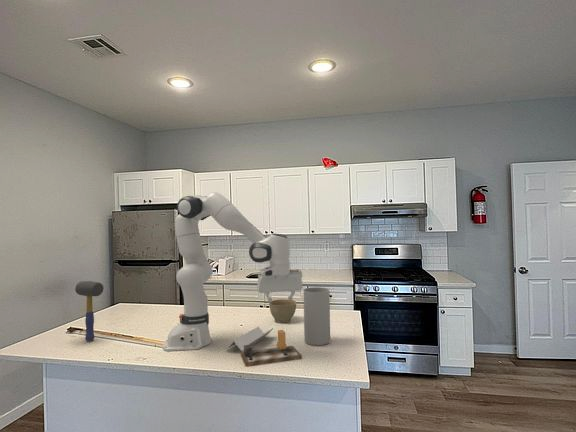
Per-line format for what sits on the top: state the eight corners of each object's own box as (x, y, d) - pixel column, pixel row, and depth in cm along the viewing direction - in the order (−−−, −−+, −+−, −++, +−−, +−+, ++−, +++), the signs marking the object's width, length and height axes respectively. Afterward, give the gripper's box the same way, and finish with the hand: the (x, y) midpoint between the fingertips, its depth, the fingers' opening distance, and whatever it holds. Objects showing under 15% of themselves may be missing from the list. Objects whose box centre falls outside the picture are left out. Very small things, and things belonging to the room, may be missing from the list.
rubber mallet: (74, 342, 171) (73, 281, 172) (87, 337, 178) (87, 279, 179) (92, 345, 167) (91, 283, 167) (105, 340, 174) (104, 280, 174)
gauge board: (245, 366, 139) (245, 354, 139) (240, 355, 150) (240, 344, 150) (301, 358, 146) (301, 346, 146) (293, 348, 157) (292, 337, 157)
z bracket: (233, 360, 153) (225, 349, 155) (258, 343, 176) (250, 334, 178) (251, 342, 150) (242, 331, 152) (273, 328, 174) (265, 318, 175)
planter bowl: (287, 326, 191) (287, 306, 191) (263, 322, 199) (263, 303, 199) (301, 319, 204) (301, 300, 205) (279, 315, 213) (278, 298, 213)
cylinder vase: (303, 345, 161) (302, 292, 161) (305, 336, 173) (305, 287, 174) (329, 346, 159) (328, 292, 159) (330, 337, 171) (329, 287, 172)
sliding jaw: (282, 355, 145) (282, 336, 145) (277, 347, 153) (277, 330, 153) (289, 354, 145) (289, 336, 146) (283, 346, 154) (283, 329, 154)
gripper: (299, 268, 159) (300, 298, 158) (256, 270, 153) (256, 301, 152) (304, 270, 153) (304, 301, 152) (259, 272, 147) (259, 304, 146)
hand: (280, 301), depth 152 cm, fingers open, 8 cm apart
